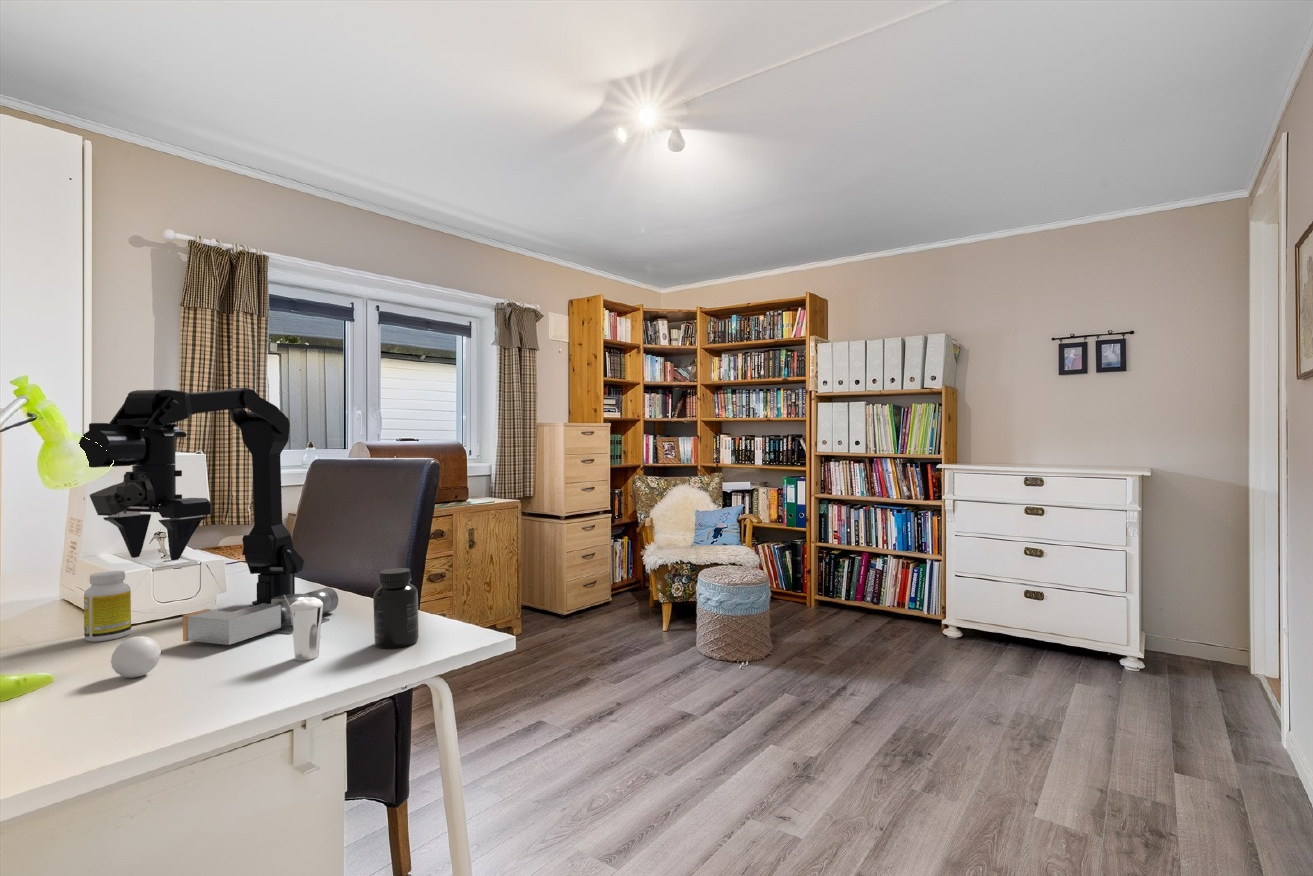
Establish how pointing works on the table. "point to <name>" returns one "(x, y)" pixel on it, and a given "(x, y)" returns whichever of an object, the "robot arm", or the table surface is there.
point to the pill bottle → (107, 607)
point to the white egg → (136, 657)
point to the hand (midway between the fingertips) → (154, 558)
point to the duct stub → (324, 595)
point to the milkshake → (306, 627)
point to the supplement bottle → (395, 610)
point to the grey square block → (231, 624)
